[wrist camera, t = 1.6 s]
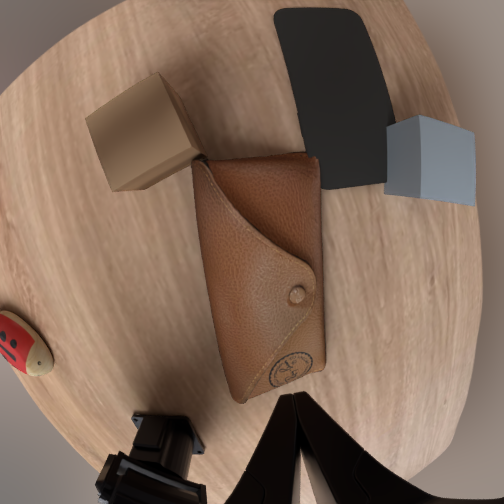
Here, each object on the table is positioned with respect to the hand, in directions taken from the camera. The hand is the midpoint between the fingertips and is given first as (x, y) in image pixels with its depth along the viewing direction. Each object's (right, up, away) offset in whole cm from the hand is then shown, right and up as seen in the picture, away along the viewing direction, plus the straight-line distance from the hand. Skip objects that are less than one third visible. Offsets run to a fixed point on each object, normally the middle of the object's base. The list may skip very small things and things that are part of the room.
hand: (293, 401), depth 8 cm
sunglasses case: (0, +3, +12) cm, 13 cm away
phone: (+5, +17, +9) cm, 20 cm away
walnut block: (-8, +12, +10) cm, 17 cm away
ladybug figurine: (-27, -5, +14) cm, 31 cm away
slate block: (+11, +11, +10) cm, 18 cm away
